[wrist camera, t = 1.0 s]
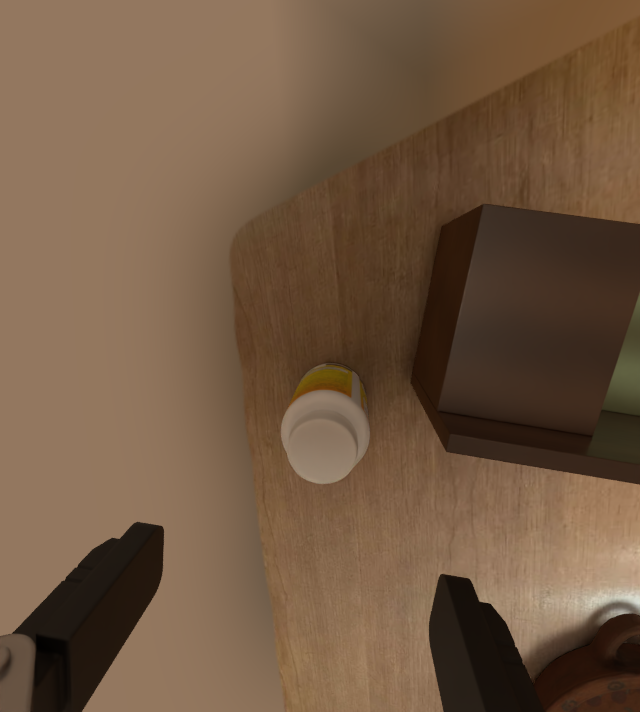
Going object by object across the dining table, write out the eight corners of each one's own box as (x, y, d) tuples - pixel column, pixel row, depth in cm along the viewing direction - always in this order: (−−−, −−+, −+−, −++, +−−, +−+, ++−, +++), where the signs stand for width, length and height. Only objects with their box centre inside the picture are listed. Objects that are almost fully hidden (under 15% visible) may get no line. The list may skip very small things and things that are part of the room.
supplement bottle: (284, 389, 31) (251, 444, 21) (336, 347, 30) (327, 384, 20) (327, 439, 32) (315, 515, 22) (380, 399, 31) (393, 461, 21)
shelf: (441, 225, 27) (507, 190, 16) (700, 260, 26) (975, 250, 15) (410, 382, 30) (445, 452, 18) (643, 420, 29) (838, 518, 17)
